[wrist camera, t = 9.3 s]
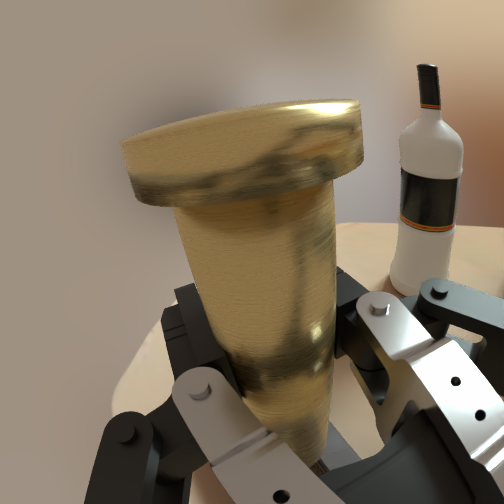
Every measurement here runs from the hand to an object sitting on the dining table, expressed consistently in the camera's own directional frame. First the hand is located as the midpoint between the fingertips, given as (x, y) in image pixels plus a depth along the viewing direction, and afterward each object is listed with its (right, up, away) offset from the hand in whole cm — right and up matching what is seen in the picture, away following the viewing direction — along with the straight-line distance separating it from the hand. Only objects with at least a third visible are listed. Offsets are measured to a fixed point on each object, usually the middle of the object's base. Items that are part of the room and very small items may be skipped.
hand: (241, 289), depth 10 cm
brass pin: (+2, -8, +2) cm, 8 cm away
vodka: (+25, -3, +28) cm, 37 cm away
